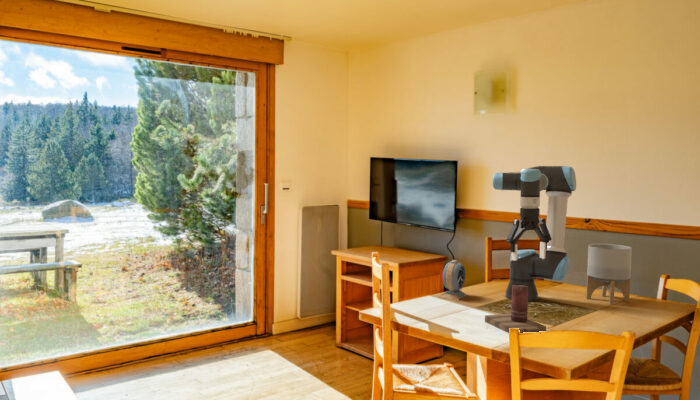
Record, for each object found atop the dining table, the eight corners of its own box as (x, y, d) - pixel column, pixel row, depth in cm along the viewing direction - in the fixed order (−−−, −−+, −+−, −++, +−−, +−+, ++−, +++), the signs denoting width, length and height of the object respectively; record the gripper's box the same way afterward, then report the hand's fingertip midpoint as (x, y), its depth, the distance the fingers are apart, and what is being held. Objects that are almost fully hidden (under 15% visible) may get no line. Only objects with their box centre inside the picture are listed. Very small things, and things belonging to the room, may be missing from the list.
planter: (590, 303, 256) (592, 248, 255) (583, 294, 275) (585, 242, 273) (634, 306, 252) (636, 250, 250) (623, 297, 270) (626, 244, 269)
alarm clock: (457, 300, 257) (458, 263, 256) (438, 297, 262) (439, 261, 261) (468, 294, 269) (469, 259, 268) (449, 292, 274) (450, 257, 273)
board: (484, 321, 222) (484, 315, 222) (514, 318, 226) (514, 313, 226) (518, 337, 201) (518, 331, 200) (550, 334, 205) (550, 328, 205)
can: (507, 318, 217) (508, 284, 216) (520, 317, 219) (521, 283, 218) (516, 323, 211) (517, 287, 210) (530, 321, 213) (531, 286, 212)
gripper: (509, 209, 214) (507, 262, 216) (561, 207, 222) (560, 258, 224) (498, 207, 221) (496, 259, 223) (549, 205, 229) (547, 255, 231)
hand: (528, 259), depth 223 cm, fingers open, 13 cm apart
